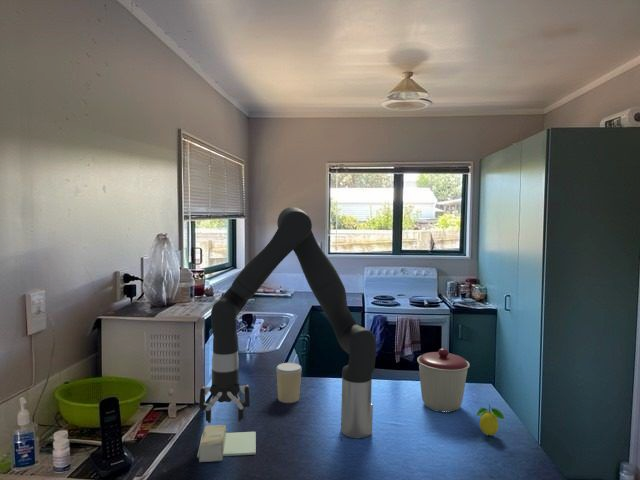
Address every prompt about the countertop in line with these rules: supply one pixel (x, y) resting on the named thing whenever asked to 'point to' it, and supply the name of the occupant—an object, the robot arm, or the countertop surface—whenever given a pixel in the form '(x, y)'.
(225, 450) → the mat
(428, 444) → the countertop surface
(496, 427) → the lemon
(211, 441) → the skincare box
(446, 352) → the canister
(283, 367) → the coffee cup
